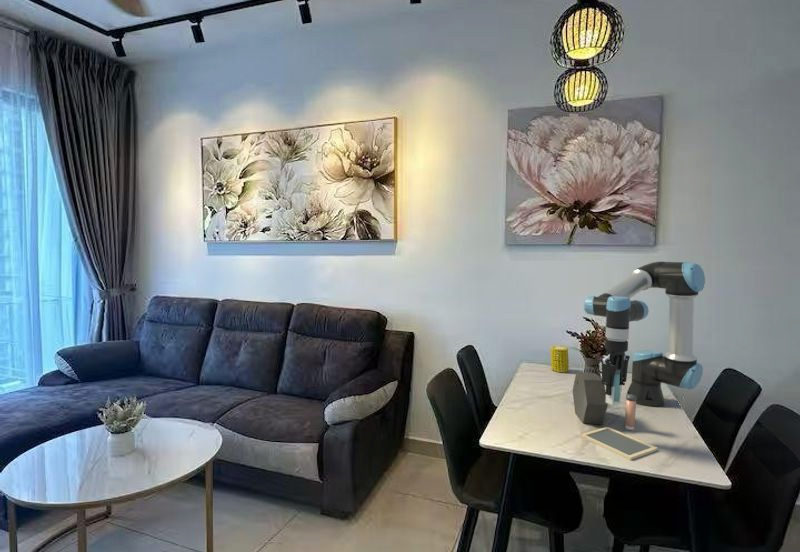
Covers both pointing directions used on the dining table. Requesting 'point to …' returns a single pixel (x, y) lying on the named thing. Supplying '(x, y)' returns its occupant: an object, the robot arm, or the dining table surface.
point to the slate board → (619, 443)
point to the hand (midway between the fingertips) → (613, 402)
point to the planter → (589, 398)
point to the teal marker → (616, 386)
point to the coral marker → (630, 411)
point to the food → (559, 358)
